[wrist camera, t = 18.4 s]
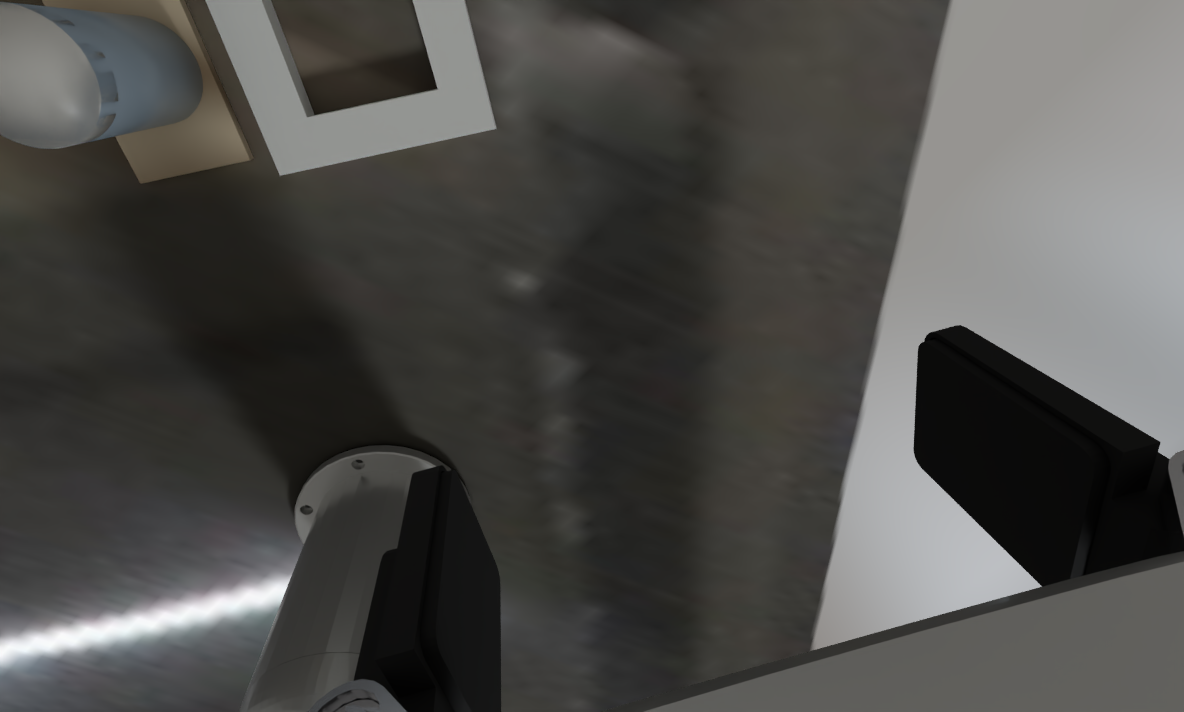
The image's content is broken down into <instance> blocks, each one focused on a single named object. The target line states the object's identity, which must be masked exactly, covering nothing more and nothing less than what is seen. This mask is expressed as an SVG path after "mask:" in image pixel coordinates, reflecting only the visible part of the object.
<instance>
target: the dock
mask: <svg viewBox="0 0 1184 712" xmlns="http://www.w3.org/2000/svg"><path fill="white" fill-rule="evenodd" d="M205 1H206V3H207V5H208V8H209V10H210V12H211V15H212V17H213V19H214V22H215V24H216V26H217V29H218V31H219V33H220V36H221V38H222V41H223V43H224V45H225V48H226V50H227V52H228V55H229V57H230V59H231V62H232V64H233V66H234V69H235V71H236V73H237V76H238V78H239V80H240V83H241V85H242V88H243V90H244V92H245V95H246V97H247V99H248V102H249V104H250V106H251V109H252V111H253V113H254V116H255V118H256V120H257V123H258V125H259V127H260V130H261V132H262V135H263V137H264V139H265V142H266V144H267V146H268V149H269V151H270V153H271V156H272V158H273V160H274V163H275V165H276V167H277V170H278V172H279V175H280V176H281V175H285V174H290V173H294V172H299V171H304V170H308V169H313V168H317V167H322V166H327V165H331V164H336V163H341V162H345V161H350V160H354V159H359V158H364V157H368V156H373V155H377V154H382V153H387V152H391V151H396V150H400V149H405V148H410V147H414V146H419V145H424V144H428V143H433V142H437V141H442V140H447V139H451V138H456V137H460V136H465V135H470V134H474V133H479V132H484V131H488V130H493V129H496V123H495V119H494V115H493V111H492V106H491V102H490V98H489V94H488V90H487V86H486V82H485V78H484V74H483V70H482V66H481V62H480V58H479V54H478V50H477V46H476V42H475V38H474V34H473V30H472V26H471V21H470V17H469V13H468V9H467V5H466V1H465V0H413V4H414V7H415V11H416V14H417V18H418V21H419V25H420V28H421V32H422V35H423V39H424V42H425V46H426V49H427V53H428V57H429V60H430V64H431V67H432V71H433V74H434V78H435V81H436V85H437V88H438V89H434V90H429V91H424V92H419V93H415V94H410V95H405V96H401V97H396V98H391V99H387V100H382V101H377V102H373V103H368V104H363V105H358V106H354V107H349V108H344V109H340V110H335V111H330V112H326V113H321V114H316V115H314V112H313V109H312V107H311V104H310V102H309V99H308V96H307V94H306V91H305V88H304V86H303V83H302V80H301V78H300V75H299V73H298V70H297V67H296V65H295V62H294V59H293V57H292V54H291V52H290V49H289V46H288V44H287V41H286V38H285V36H284V33H283V31H282V28H281V25H280V23H279V20H278V17H277V15H276V12H275V10H274V7H273V4H272V2H271V0H205Z"/></svg>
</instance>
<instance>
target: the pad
mask: <svg viewBox="0 0 1184 712" xmlns="http://www.w3.org/2000/svg"><path fill="white" fill-rule="evenodd" d="M42 2H43V4H44V5H45V6H48V7H58V8H67V9H77V10H87V11H96V12H106V13H116V14H126V15H135V16H142V17H146V18H149V19H152V20H155V21H157V22H159V23H161V24H163V25H165V26H166V27H168V28H169V29H171V30H172V31H173V32H175V33H176V34H177V35H178V36H179V37H180V38H181V39H182V40H183V41H184V42H185V43H186V44H187V46H188V47H189V48H190V50H191V51H192V53H193V54H194V56H195V58H196V60H197V62H198V65H199V67H200V70H201V74H202V80H203V92H202V97H201V100H200V103H199V105H198V107H197V108H196V110H195V111H194V112H193V113H192V114H191V115H190V116H189V117H188V118H186V119H185V120H182V121H180V122H177V123H174V124H170V125H165V126H160V127H156V128H151V129H147V130H142V131H137V132H133V133H128V134H124V135H119V136H115V137H116V139H117V141H118V143H119V145H120V147H121V149H122V150H123V152H124V154H125V156H126V158H127V160H128V162H129V163H130V165H131V167H132V169H133V171H134V173H135V175H136V176H137V178H138V180H139V182H140V184H142V183H147V182H151V181H156V180H160V179H165V178H170V177H174V176H179V175H184V174H188V173H193V172H198V171H202V170H207V169H212V168H216V167H221V166H225V165H230V164H235V163H239V162H244V161H249V160H252V159H254V157H253V155H252V152H251V150H250V148H249V146H248V143H247V141H246V139H245V136H244V134H243V132H242V130H241V127H240V125H239V123H238V121H237V118H236V116H235V114H234V111H233V109H232V107H231V105H230V102H229V100H228V98H227V96H226V93H225V91H224V89H223V86H222V84H221V82H220V80H219V77H218V75H217V73H216V70H215V68H214V66H213V64H212V61H211V59H210V57H209V55H208V52H207V50H206V48H205V45H204V43H203V41H202V39H201V36H200V34H199V32H198V30H197V27H196V25H195V23H194V20H193V18H192V16H191V14H190V11H189V9H188V7H187V5H186V2H185V0H42Z"/></svg>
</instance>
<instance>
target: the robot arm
mask: <svg viewBox="0 0 1184 712" xmlns="http://www.w3.org/2000/svg"><path fill="white" fill-rule="evenodd" d="M914 432H915V433H914V454H915V458H916V460H917V462H918V464H919V465H920V466H921V468H922V469H923V470H924V471H925V472H926V473H927V474H928V475H929V476H930V477H931V478H932V479H933V480H934V481H935V482H936V483H937V484H938V485H939V486H940V487H941V488H942V489H943V490H944V491H946V493H948V494H949V495H950V496H951V497H952V498H953V499H954V500H955V501H956V502H957V503H958V504H959V505H960V506H961V507H962V508H963V509H964V510H965V511H966V512H967V513H968V514H969V515H970V516H971V517H972V518H973V519H974V520H975V521H976V522H977V523H978V524H979V525H980V526H981V527H982V528H983V529H984V530H985V531H986V532H987V533H988V534H989V535H990V536H991V537H992V538H993V539H994V540H996V542H997V543H998V544H1000V546H1002V547H1003V548H1004V549H1005V550H1006V551H1007V552H1008V553H1009V554H1010V555H1011V556H1012V557H1013V558H1014V559H1015V560H1016V561H1017V562H1018V563H1019V564H1020V565H1021V566H1022V567H1023V568H1024V569H1025V570H1026V571H1027V572H1028V573H1029V574H1030V575H1031V576H1032V577H1033V578H1034V579H1035V580H1036V581H1037V582H1038V583H1039V584H1040V585H1041V586H1042V587H1040V588H1036V589H1032V590H1029V591H1025V592H1022V593H1018V594H1014V595H1011V596H1007V597H1003V598H1000V599H996V600H992V601H989V602H986V603H982V604H978V605H974V606H971V607H967V608H964V609H960V610H956V611H952V612H949V613H945V614H942V615H938V616H934V617H931V618H927V619H924V620H920V621H917V622H913V623H909V624H906V625H903V626H899V627H895V628H892V629H888V630H884V631H881V632H878V633H874V634H870V635H867V636H863V637H859V638H856V639H852V640H849V641H845V642H842V643H838V644H835V645H831V646H827V647H824V648H820V649H817V650H813V651H810V652H806V653H803V654H799V655H796V656H792V657H789V658H785V659H781V660H778V661H774V662H771V663H767V664H764V665H760V666H757V667H753V668H750V669H746V670H743V671H739V672H736V673H732V674H729V675H726V676H722V677H719V678H715V679H712V680H708V681H705V682H701V683H698V684H694V685H691V686H687V687H684V688H680V689H677V690H673V691H670V692H666V693H663V694H659V695H656V696H653V697H649V698H646V699H642V700H639V701H635V702H632V703H628V704H625V705H622V706H618V707H615V708H612V709H609V710H605V711H602V712H1184V450H1183V451H1180V452H1178V453H1176V454H1175V455H1174V456H1173V457H1172V458H1171V459H1168V458H1167V457H1165V456H1163V455H1162V454H1160V453H1158V449H1159V445H1160V442H1159V441H1158V440H1156V439H1154V438H1153V437H1151V436H1149V435H1147V434H1146V433H1144V432H1142V431H1141V430H1139V429H1137V428H1135V427H1134V426H1132V425H1130V424H1129V423H1127V422H1125V421H1124V420H1122V419H1120V418H1119V417H1117V416H1115V415H1113V414H1112V413H1110V412H1108V411H1107V410H1105V409H1103V408H1102V407H1100V406H1098V405H1097V404H1095V403H1093V402H1091V401H1090V400H1088V399H1086V398H1084V397H1083V396H1081V395H1080V394H1078V393H1076V392H1074V391H1073V390H1071V389H1069V388H1068V387H1066V386H1064V385H1063V384H1061V383H1059V382H1057V381H1056V380H1054V379H1052V378H1050V377H1049V376H1047V375H1045V374H1044V373H1042V372H1040V371H1039V370H1037V369H1035V368H1033V367H1032V366H1030V365H1029V364H1027V363H1025V362H1023V361H1022V360H1020V359H1018V358H1016V357H1015V356H1013V355H1012V354H1010V353H1008V352H1007V351H1005V350H1003V349H1001V348H1000V347H998V346H996V345H995V344H993V343H991V342H990V341H988V340H986V339H984V338H983V337H981V336H979V335H978V334H976V333H974V332H973V331H971V330H969V329H968V328H966V327H963V326H961V325H959V326H954V327H949V328H946V329H942V330H939V331H935V332H931V333H929V334H928V335H927V336H926V338H925V341H924V342H923V343H921V344H920V345H919V348H918V363H917V386H916V408H915V431H914ZM295 526H296V529H297V532H298V536H299V538H300V539H301V541H302V543H303V545H304V546H303V549H302V551H301V554H300V556H299V559H298V561H297V564H296V566H295V569H294V572H293V574H292V577H291V579H290V582H289V584H288V587H287V589H286V592H285V595H284V597H283V600H282V602H281V605H280V607H279V610H278V612H277V615H276V618H275V620H274V623H273V625H272V628H271V630H270V633H269V635H268V638H267V641H266V643H265V646H264V648H263V651H262V653H261V656H260V658H259V661H258V664H257V666H256V669H255V671H254V674H253V676H252V679H251V681H250V684H249V687H248V689H247V692H246V694H245V697H244V700H243V702H242V705H241V707H240V710H239V712H501V623H500V577H499V572H498V568H497V565H496V563H495V560H494V558H493V555H492V553H491V551H490V548H489V546H488V544H487V541H486V539H485V537H484V534H483V532H482V530H481V527H480V525H479V523H478V520H477V518H476V516H475V513H474V511H473V509H472V506H471V499H470V497H469V494H468V491H467V489H466V487H465V486H464V484H463V482H462V481H461V479H460V478H459V476H458V474H457V472H456V471H455V470H451V469H450V468H449V467H448V466H447V465H445V464H444V463H442V462H441V461H439V460H438V459H436V458H434V457H432V456H430V455H427V454H425V453H423V452H421V451H417V450H413V449H410V448H406V447H399V446H390V445H377V446H366V447H361V448H355V449H351V450H349V451H346V452H343V453H340V454H338V455H336V456H334V457H332V458H331V459H329V460H327V461H325V462H324V463H322V464H321V465H320V466H319V467H318V468H317V469H316V470H315V471H313V472H312V473H311V475H310V476H309V478H308V479H307V481H306V482H305V483H304V485H303V487H302V490H301V492H300V494H299V496H298V498H297V502H296V505H295Z"/></svg>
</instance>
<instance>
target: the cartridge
mask: <svg viewBox="0 0 1184 712" xmlns="http://www.w3.org/2000/svg"><path fill="white" fill-rule="evenodd" d="M202 92H203V80H202V74H201V70H200V67H199V65H198V62H197V60H196V58H195V56H194V54H193V53H192V51H191V50H190V48H189V47H188V46H187V44H186V43H185V42H184V41H183V40H182V39H181V38H180V37H179V36H178V35H177V34H176V33H175V32H173V31H172V30H171V29H169V28H168V27H166V26H165V25H163V24H161V23H159V22H157V21H155V20H152V19H149V18H146V17H142V16H135V15H126V14H116V13H106V12H96V11H87V10H77V9H67V8H58V7H48V6H38V5H28V4H19V3H9V2H0V135H2V136H4V137H6V138H8V139H10V140H12V141H15V142H17V143H20V144H23V145H26V146H30V147H35V148H42V149H57V148H64V147H69V146H73V145H78V144H83V143H87V142H92V141H96V140H101V139H105V138H110V137H115V136H119V135H124V134H128V133H133V132H137V131H142V130H147V129H151V128H156V127H160V126H165V125H170V124H174V123H177V122H180V121H182V120H185V119H186V118H188V117H189V116H190V115H191V114H192V113H193V112H194V111H195V110H196V108H197V107H198V105H199V103H200V100H201V97H202Z"/></svg>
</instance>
